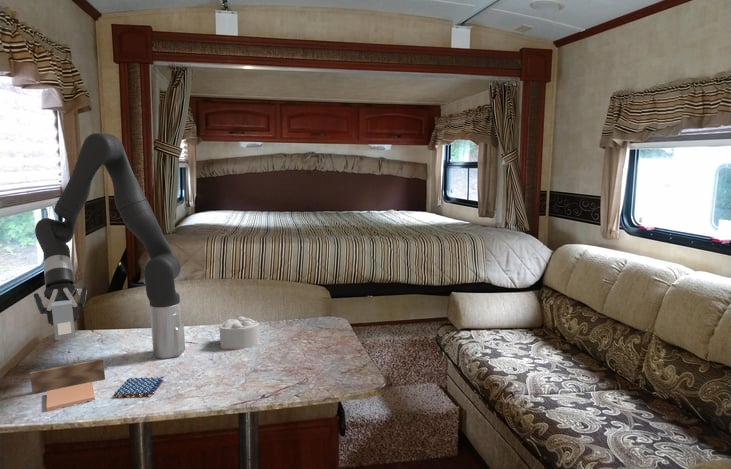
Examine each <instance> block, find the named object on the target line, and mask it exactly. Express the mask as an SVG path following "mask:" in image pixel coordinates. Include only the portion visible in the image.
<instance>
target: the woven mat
mask: <svg viewBox="0 0 731 469" xmlns="http://www.w3.org/2000/svg"><path fill="white" fill-rule="evenodd" d="M164 381H165V380H164V376H161V377H160V376H156V377H153V376H151V377H147V376H146V377H143V376H142V377H129V378H127V379H126V381H124V383H123V384H121V386H120V387H119V388H117V391H115V392H114V394H113V396H114V397H117V398H118V399H121V398H123V397H124V396H126V398H128V397H129V398H131V397H132V396H134V397H136V396H138V398H143V397H144V396H146V395H147V396H146V397H149V398H150V396H151V395H154V394H155V392H156V391H157V390H158V389H159V387H160V386H161V384H162V383H163V382H164ZM153 392H154V393H153ZM139 394H140V395H139ZM142 396H143V397H142ZM120 397H121V398H120ZM151 397H152V396H151Z"/></svg>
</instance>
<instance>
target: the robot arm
mask: <svg viewBox="0 0 731 469" xmlns="http://www.w3.org/2000/svg"><path fill="white" fill-rule="evenodd" d="M102 166H104V168H105V169H106V171H107V173H108V175H109V177H110V179H111V182H112V188H113V197H114V202H115V203H114V204H115V206H116V209H117V211H118V213H119V216H120V217H121V219H122V221H123V223H124V225H125V227H126V228H127V229H128V230H129V231H130V232H131V233H132V234H133V235H134V236H135V237H136V238H137V239H138V240H139V241H140V242H141V243H142V245H143V247H144V248H145V249H146V252H147V253H148V256H149V258H150V259H149V260H148V261H147V263H146V264H145V267H144V283H145V292H146V297H147V299H148V301H149V311H150V312H149V313H150V325H151V337H152V352H153V357H154V358H156V359H170V358H176V357H180V356H181V355H182V354H183V353H184V351H185V350H186V339H185V337H186V336H185V325H184V322H182V315H181V314H182V313H181V302H180V301H181V300H180V298H181V297H180V294H179V292H177V291H176V285H175V279H176V278H178V276H179V275H180V273H181V268H182V267H181V262H180V260H179V258H178V256H177V255H176V254H175V251H174V250H173V248H172V247H171V245H170V244H169V242H168V240H167V239H166V237H165V235H164V233H163V230H162V228H161V227H160V224H159V222H158V220H157V218H156V216H155V214H154V211H153V208H152V207H151V205H150V203H149V201H148V199H147V197H146V195H145V193H144V192H143V190H142V187H141V185H140V183H139V181H138V179H137V177H136V176H135V174H134V172H133V169H132V166H131V164H130V161H129V158H128V156H127V153H126V150H125V147H124V145H123V143H122V141H121V140H120V139H119V137H117V136H115V135H114V134H110V133H105V132H104V133H102V132H96V133H95V132H94V133H91V134H89V135H87V137H85V139H84V141H83V142H82V146H81V148H80V150H79V154H78V157H77V159H76V163H75V165H74V168H73V170H72V173H71V175H70V178H69V180H68V182H67V184H66V186H65V188H64V189H63V190H62V193H61V194H60V195H59V196H60V197H59V198H58V200H57V201H56V203H55V205H54V207H53V211H54V213H55V214H56V215H57V216H58V217H60V218H62V219H64V221H60V220H57V219H54V218H49V217H46V218H45V217H43V218H41V219H40V220H38V221H37V223H36V225H35V227H34V228H35V229H34V233H35V234H34V235H35V238H36V240H37V242H38V244H39V246H40V248H41V250H42V252H43V261H44V264H43V272H44V273H43V274H44V285H45V289H44V291H43V292H41V293H37V292H35V293H34V294H33V299H34V302H35V304H36V307H37V309H38V312H39V314H40V315H44V314H45V315H46V316H47V318H46V319H47V323H48V324H49V325H50V326H52V327H53V326H54V324H53V315H52V303H54V302H56V301H63V300H69V301H71V300H72V309H73V318H74V323H77V320H79V318H80V317H79V309H84V308H85V306H86V301H87V295H88V294H87V293H88V288H87V286H85V287H82V288H77V287H76V285H75V284H76V283H75V277H74V276H75V274H74V268H73V262H72V259H71V258H72V257H71V251H70V247H69V245H68V244H67V243H69V242H71V241H72V239H73V237H74V234H75V229H76V224H77V221H78V218H79V215H80V213H81V212H82V210H83V208H84V206H85V205H86V203H87V200H88V198H89V195H90V192H91V186H92V182H93V179H94V177H95V175H96V174H97V172H98V170H100V168H101V167H102ZM76 294H78V295H79V297H80V298H79V299H80V300H79V302H76V300H75V299H74V297H75V295H76ZM44 298H46V299H47V300H49V301H48V305H47V307H46V306H44V304H43V301H44Z"/></svg>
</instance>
